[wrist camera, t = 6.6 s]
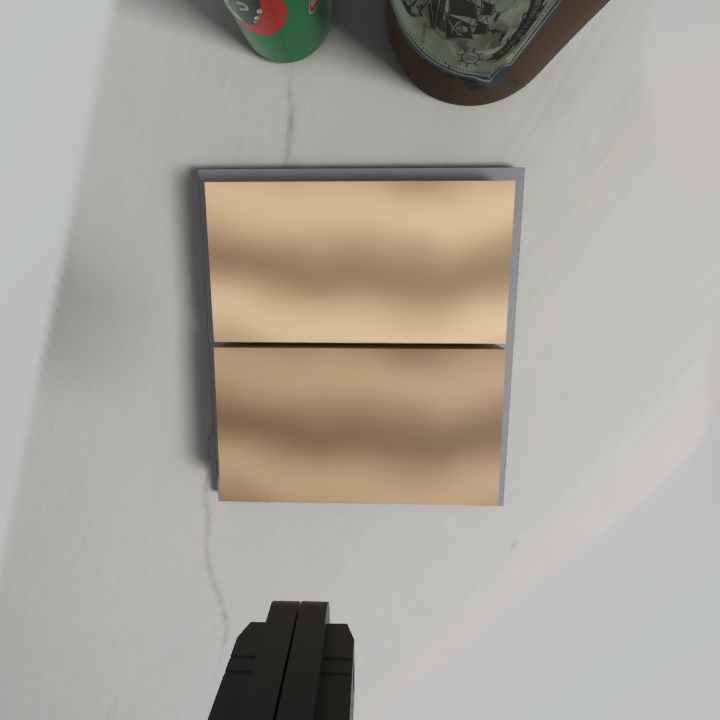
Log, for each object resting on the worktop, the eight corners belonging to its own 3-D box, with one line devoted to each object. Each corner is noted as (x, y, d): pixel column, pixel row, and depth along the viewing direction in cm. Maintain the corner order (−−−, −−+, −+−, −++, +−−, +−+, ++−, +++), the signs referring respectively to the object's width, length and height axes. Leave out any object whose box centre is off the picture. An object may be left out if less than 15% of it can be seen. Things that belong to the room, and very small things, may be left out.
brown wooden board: (225, 343, 28) (213, 347, 26) (496, 344, 28) (505, 349, 26) (230, 486, 30) (220, 501, 28) (489, 490, 29) (498, 505, 27)
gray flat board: (204, 172, 28) (198, 169, 27) (519, 171, 27) (524, 167, 26) (223, 493, 32) (218, 501, 31) (499, 498, 31) (503, 505, 30)
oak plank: (217, 188, 27) (204, 182, 25) (505, 186, 26) (515, 180, 24) (225, 336, 28) (214, 341, 27) (496, 338, 28) (505, 343, 26)
